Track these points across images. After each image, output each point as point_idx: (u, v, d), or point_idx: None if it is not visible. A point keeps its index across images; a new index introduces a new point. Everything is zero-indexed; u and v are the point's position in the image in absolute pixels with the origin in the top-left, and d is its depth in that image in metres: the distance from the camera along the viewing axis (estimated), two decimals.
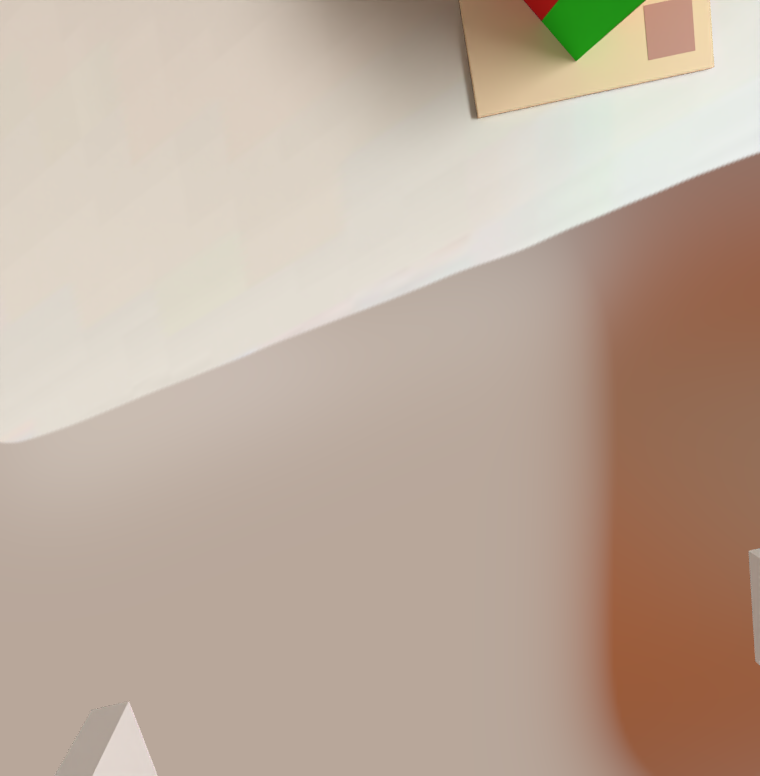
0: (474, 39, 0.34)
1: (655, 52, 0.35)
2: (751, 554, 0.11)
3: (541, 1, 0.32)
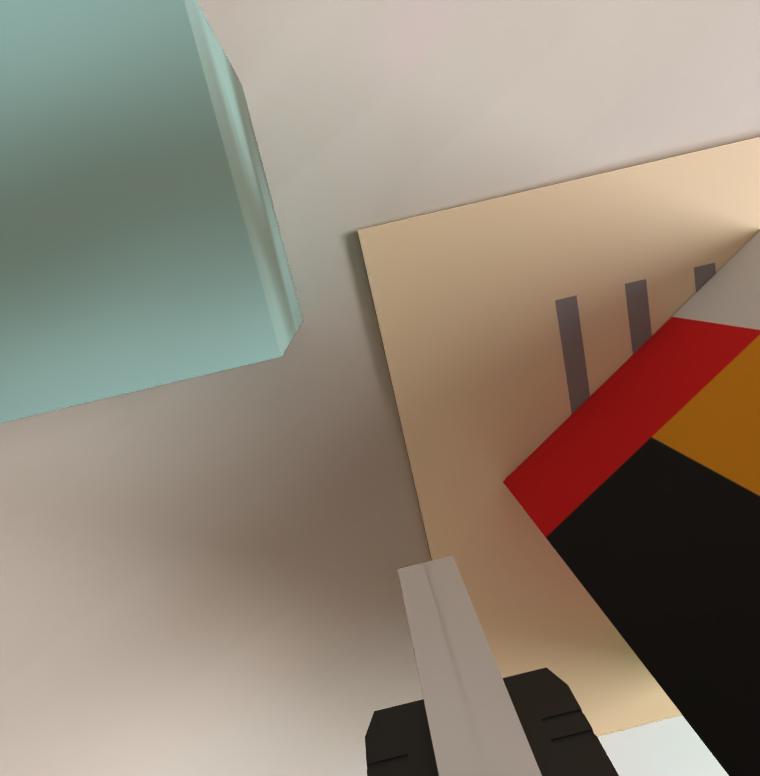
0: None
1: None
2: (423, 565, 0.13)
3: None
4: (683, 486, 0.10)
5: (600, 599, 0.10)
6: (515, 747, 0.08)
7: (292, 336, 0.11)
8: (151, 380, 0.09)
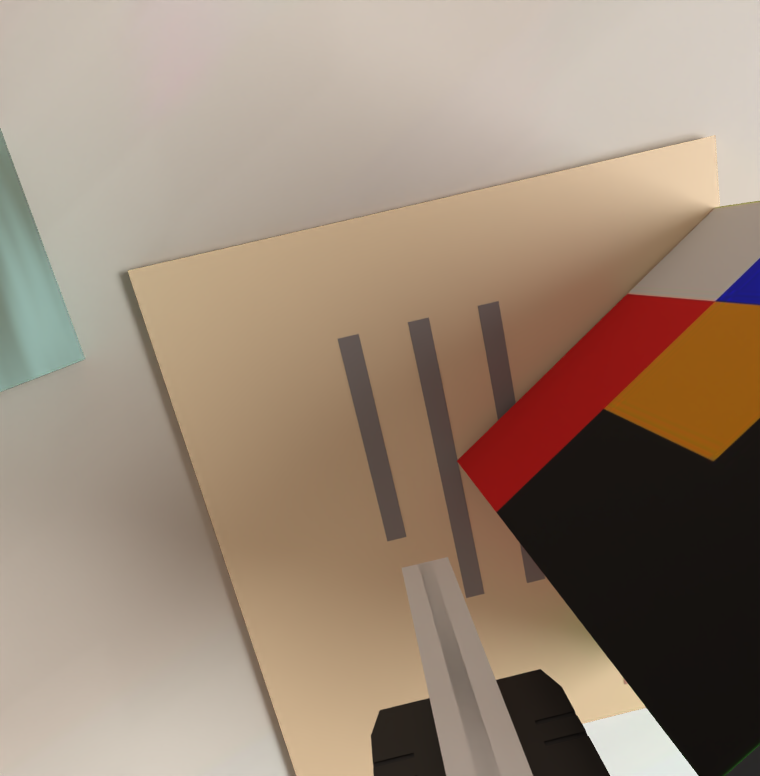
0: (282, 684, 0.17)
1: None
2: (418, 567, 0.13)
3: None
4: (633, 455, 0.10)
5: (547, 569, 0.10)
6: (507, 749, 0.08)
7: (7, 387, 0.11)
8: None
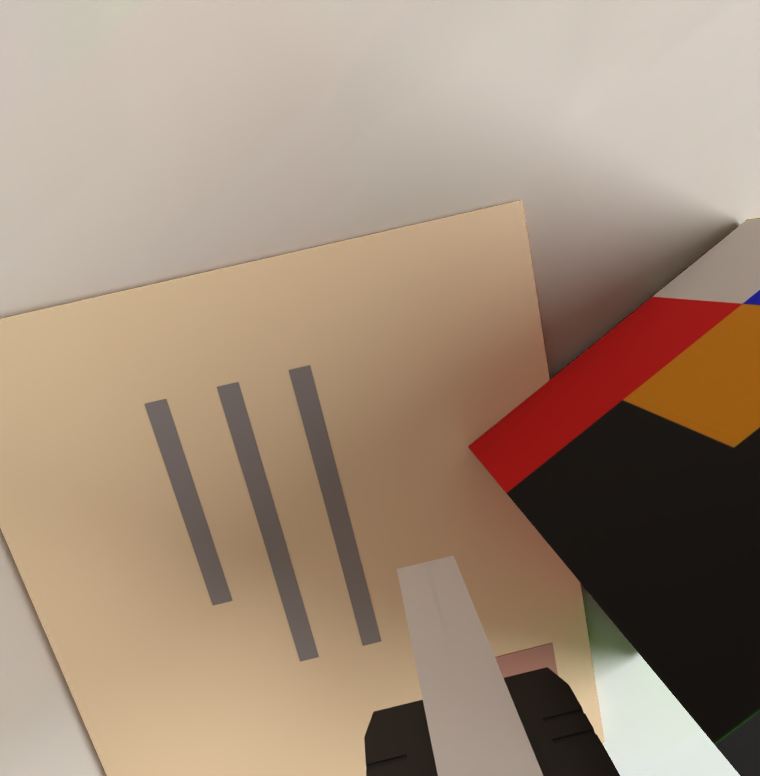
0: (113, 750, 0.17)
1: None
2: (424, 565, 0.13)
3: None
4: (651, 441, 0.10)
5: (557, 545, 0.10)
6: (516, 747, 0.08)
7: None
8: None
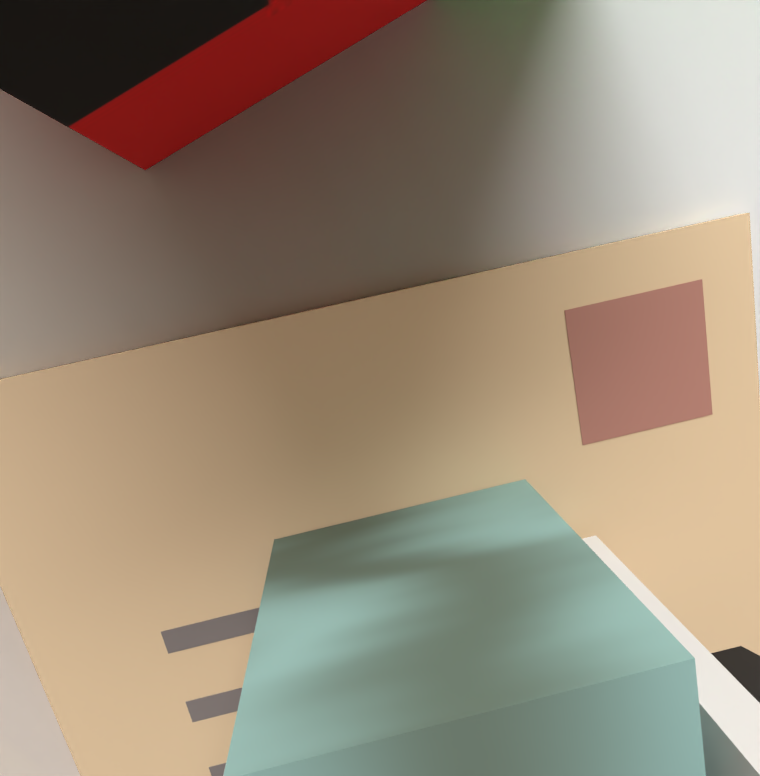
0: None
1: (693, 396, 0.13)
2: None
3: None
4: None
5: None
6: None
7: (598, 559, 0.09)
8: None
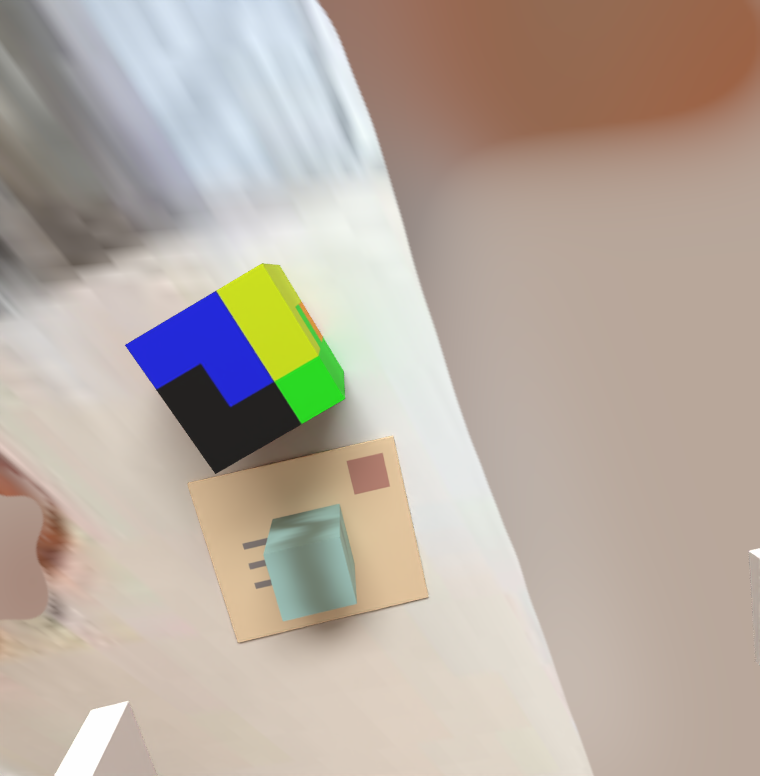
0: (380, 603, 0.49)
1: (384, 481, 0.47)
2: (751, 554, 0.11)
3: None
4: None
5: None
6: None
7: (339, 522, 0.43)
8: (344, 561, 0.42)
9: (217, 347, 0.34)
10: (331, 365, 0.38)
